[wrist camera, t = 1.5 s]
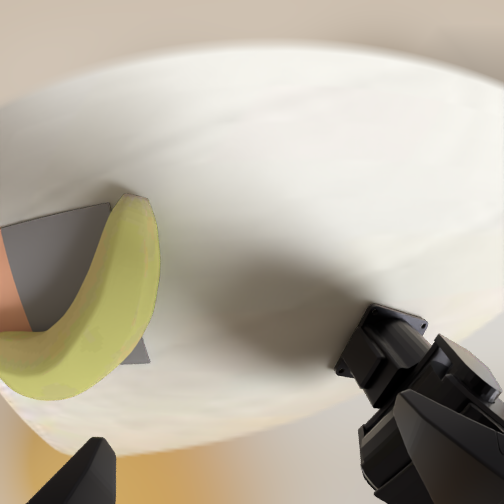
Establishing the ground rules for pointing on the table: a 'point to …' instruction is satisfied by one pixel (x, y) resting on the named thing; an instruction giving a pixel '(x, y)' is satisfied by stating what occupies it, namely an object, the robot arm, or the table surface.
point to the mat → (56, 264)
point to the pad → (10, 298)
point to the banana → (93, 313)
